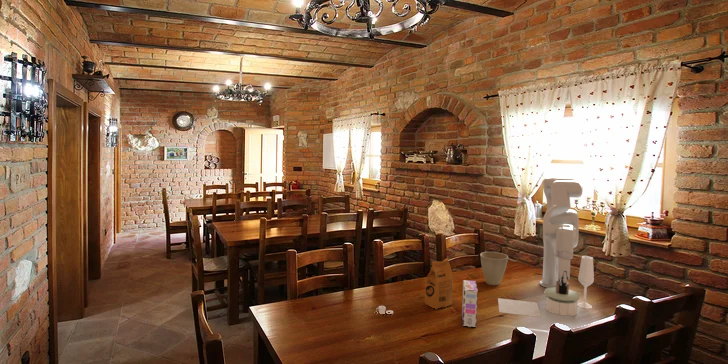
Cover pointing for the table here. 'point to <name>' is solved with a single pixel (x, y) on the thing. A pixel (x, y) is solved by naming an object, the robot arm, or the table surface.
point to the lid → (555, 294)
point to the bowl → (561, 306)
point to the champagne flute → (586, 278)
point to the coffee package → (439, 285)
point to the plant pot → (493, 266)
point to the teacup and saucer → (382, 310)
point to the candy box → (469, 303)
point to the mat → (518, 307)
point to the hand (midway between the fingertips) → (561, 292)
